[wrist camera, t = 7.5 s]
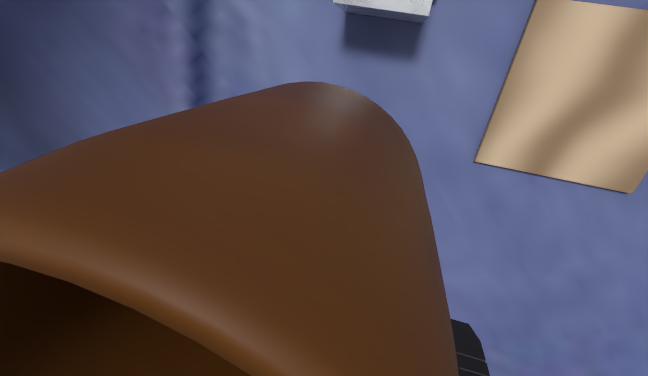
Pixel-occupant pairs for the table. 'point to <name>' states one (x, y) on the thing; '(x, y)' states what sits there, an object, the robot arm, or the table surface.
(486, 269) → the table surface
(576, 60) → the coaster
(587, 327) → the table surface
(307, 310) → the mug
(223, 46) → the table surface
